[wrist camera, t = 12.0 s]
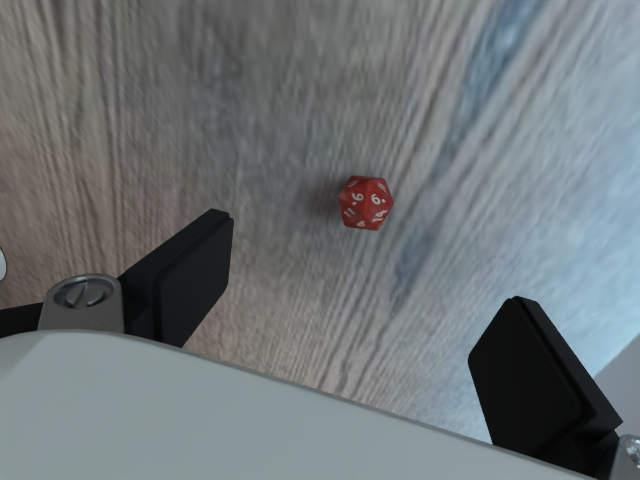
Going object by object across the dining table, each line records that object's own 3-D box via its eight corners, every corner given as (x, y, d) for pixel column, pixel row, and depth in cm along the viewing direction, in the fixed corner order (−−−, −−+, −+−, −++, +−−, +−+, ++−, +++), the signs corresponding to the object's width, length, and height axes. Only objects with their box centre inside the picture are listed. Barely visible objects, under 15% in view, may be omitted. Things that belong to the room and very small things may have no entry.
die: (378, 224, 19) (377, 247, 16) (333, 204, 19) (325, 224, 16) (401, 182, 17) (405, 200, 15) (352, 160, 17) (348, 175, 15)
